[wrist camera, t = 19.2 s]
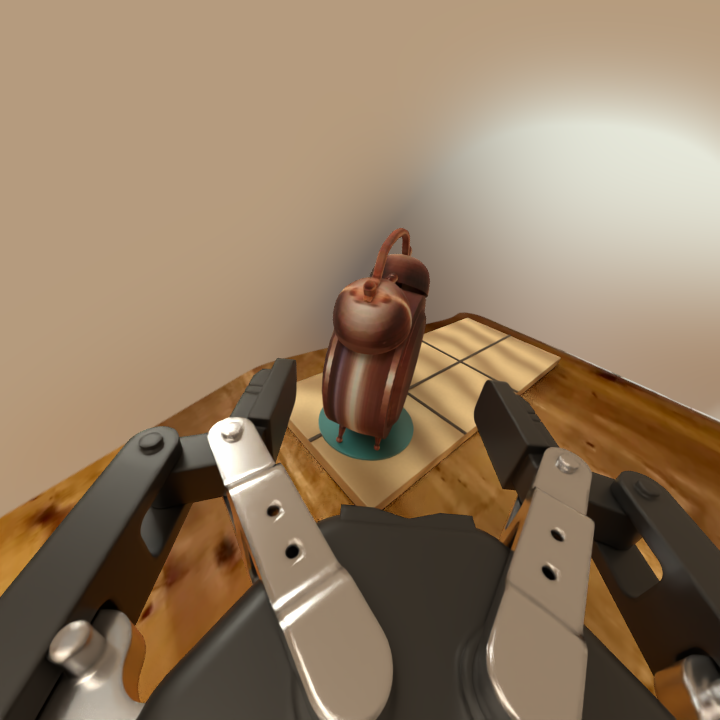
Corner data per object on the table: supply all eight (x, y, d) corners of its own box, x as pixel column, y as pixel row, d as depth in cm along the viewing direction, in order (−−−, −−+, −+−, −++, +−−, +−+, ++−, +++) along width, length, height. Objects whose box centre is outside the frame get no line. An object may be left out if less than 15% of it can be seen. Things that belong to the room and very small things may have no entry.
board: (368, 521, 19) (371, 508, 19) (267, 403, 28) (266, 391, 27) (556, 365, 40) (561, 356, 39) (465, 324, 48) (467, 316, 47)
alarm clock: (363, 379, 30) (385, 215, 22) (410, 393, 29) (451, 225, 21) (313, 460, 21) (318, 235, 13) (377, 484, 20) (425, 254, 12)
